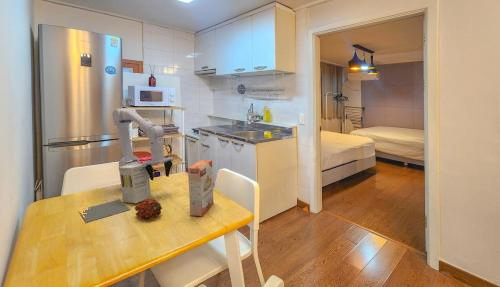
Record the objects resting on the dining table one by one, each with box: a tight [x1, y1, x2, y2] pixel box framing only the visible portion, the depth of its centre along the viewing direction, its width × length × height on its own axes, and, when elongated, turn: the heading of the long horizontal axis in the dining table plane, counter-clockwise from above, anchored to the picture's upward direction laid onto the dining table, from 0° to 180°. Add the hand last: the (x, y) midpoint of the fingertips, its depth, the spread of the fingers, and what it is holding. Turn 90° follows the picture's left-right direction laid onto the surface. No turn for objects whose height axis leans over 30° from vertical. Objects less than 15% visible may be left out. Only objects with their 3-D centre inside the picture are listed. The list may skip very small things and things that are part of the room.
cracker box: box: [187, 159, 214, 217], centre depth 110 cm, size 14×6×21 cm, turn 168°
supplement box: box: [118, 163, 152, 204], centre depth 122 cm, size 10×9×17 cm
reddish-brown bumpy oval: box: [134, 198, 163, 220], centre depth 105 cm, size 8×8×12 cm
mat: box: [81, 199, 131, 224], centre depth 113 cm, size 16×17×1 cm
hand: (159, 178), depth 124 cm, fingers open, 7 cm apart
